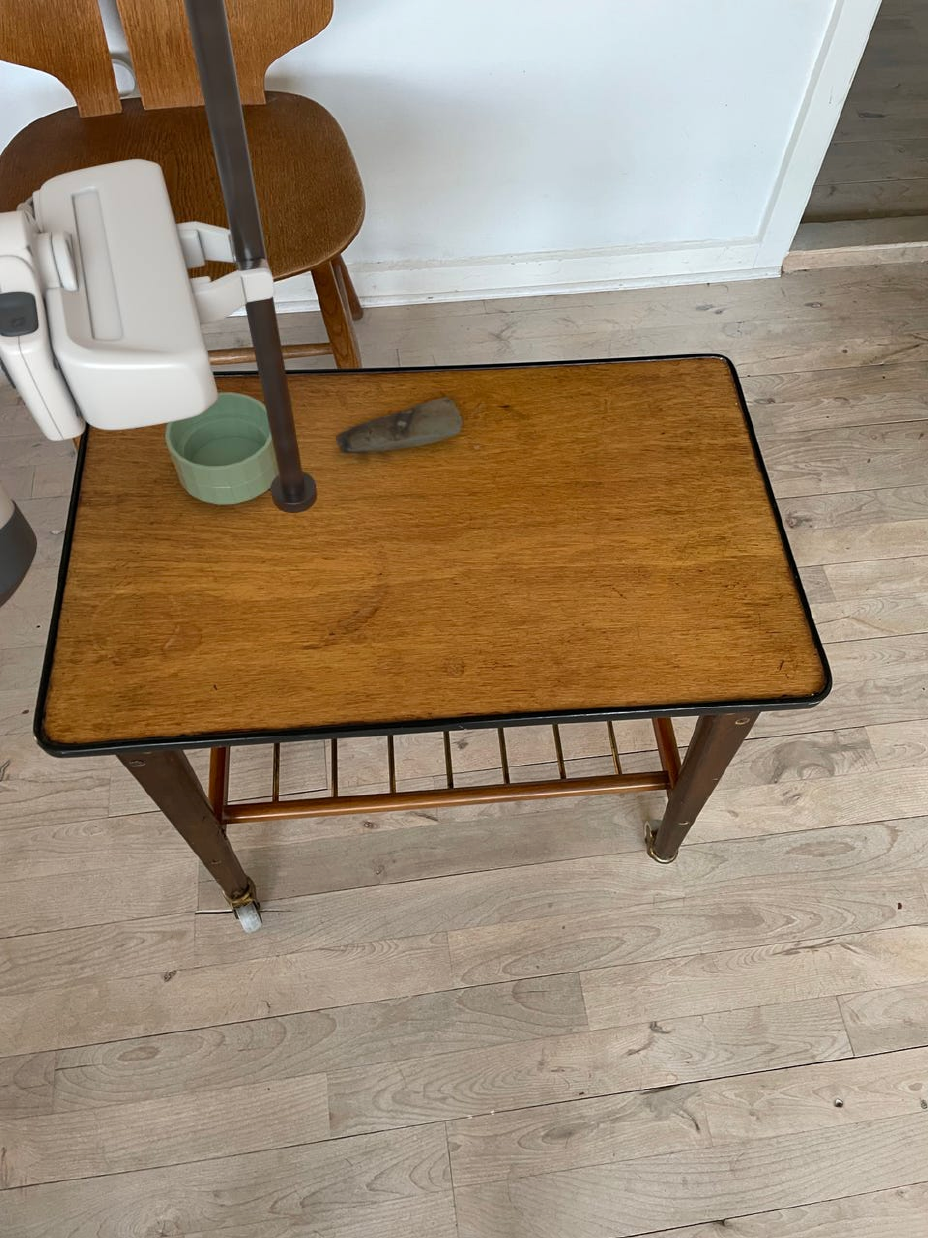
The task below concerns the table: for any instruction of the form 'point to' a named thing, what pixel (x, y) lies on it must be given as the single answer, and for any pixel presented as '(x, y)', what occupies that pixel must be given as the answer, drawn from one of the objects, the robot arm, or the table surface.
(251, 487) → the bowl
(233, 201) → the stick
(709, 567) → the table surface
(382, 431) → the stone
